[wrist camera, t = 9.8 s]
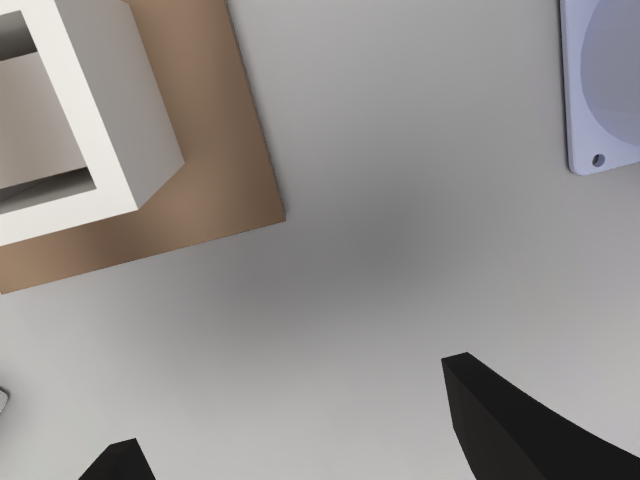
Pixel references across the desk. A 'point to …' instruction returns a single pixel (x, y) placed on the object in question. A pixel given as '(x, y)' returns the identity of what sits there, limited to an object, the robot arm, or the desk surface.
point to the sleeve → (90, 114)
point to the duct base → (191, 133)
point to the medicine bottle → (2, 400)
